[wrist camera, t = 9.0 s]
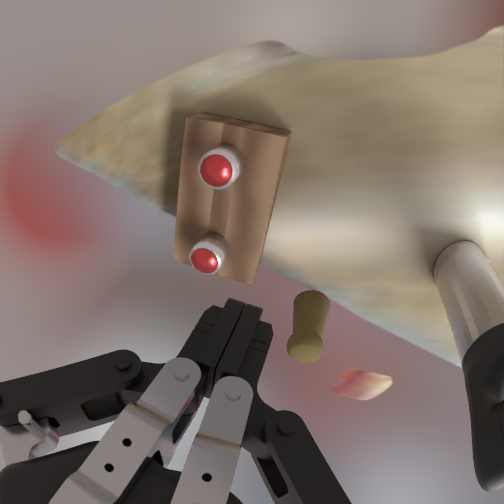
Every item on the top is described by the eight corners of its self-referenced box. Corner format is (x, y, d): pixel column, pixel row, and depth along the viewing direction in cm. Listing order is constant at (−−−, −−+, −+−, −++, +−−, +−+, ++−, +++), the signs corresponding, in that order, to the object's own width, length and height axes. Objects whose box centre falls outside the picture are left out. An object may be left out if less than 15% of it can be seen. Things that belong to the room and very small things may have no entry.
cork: (286, 305, 50) (273, 355, 40) (308, 284, 46) (299, 334, 37) (314, 323, 50) (306, 374, 41) (337, 303, 47) (334, 355, 38)
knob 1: (254, 144, 35) (238, 156, 29) (248, 176, 37) (231, 194, 32) (221, 136, 36) (199, 147, 30) (216, 168, 38) (194, 185, 32)
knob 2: (238, 227, 42) (222, 252, 36) (233, 253, 44) (218, 280, 39) (209, 219, 42) (189, 242, 37) (206, 244, 45) (187, 269, 39)
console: (291, 131, 35) (285, 137, 31) (259, 265, 47) (250, 284, 43) (202, 112, 36) (186, 117, 32) (188, 243, 48) (174, 259, 44)
